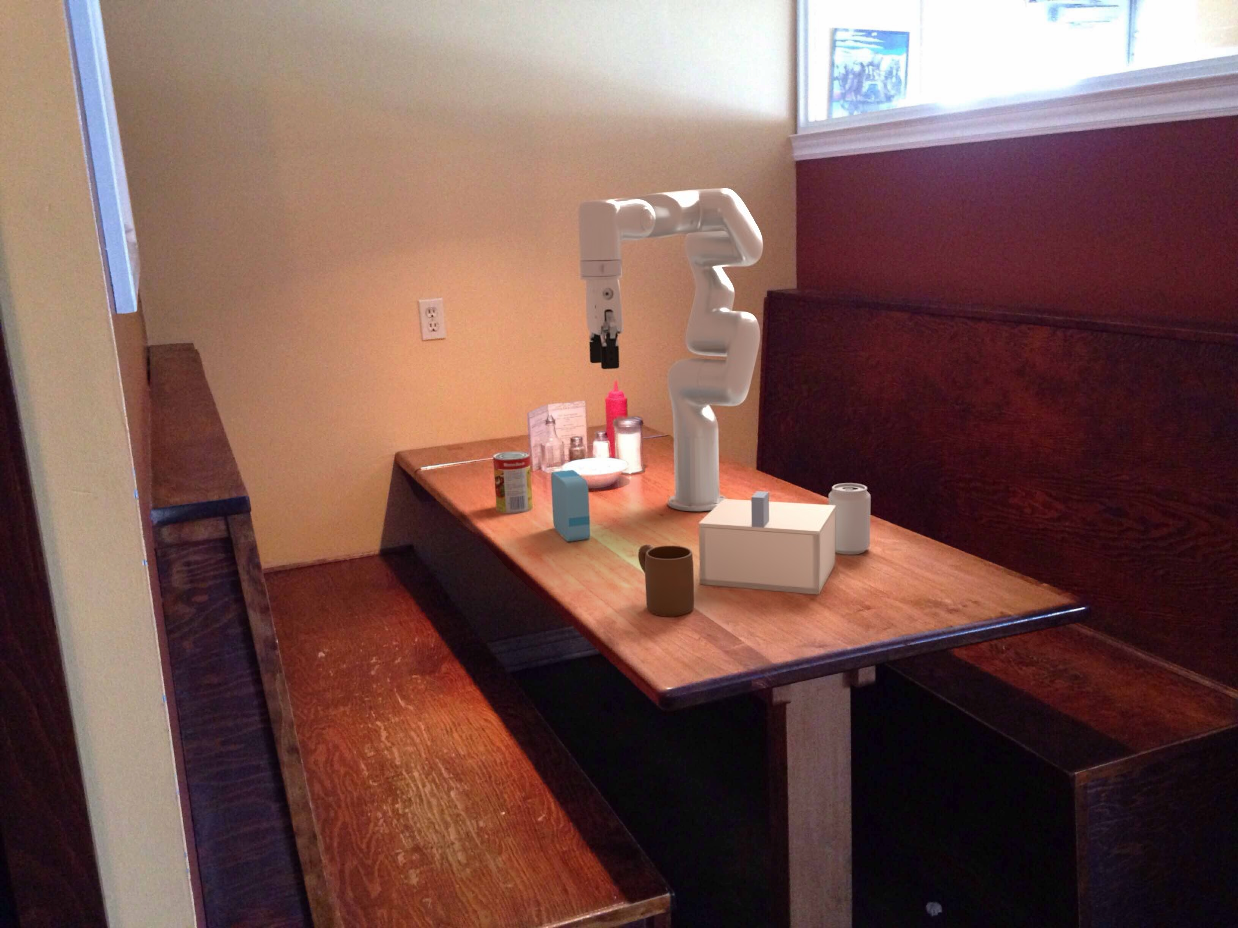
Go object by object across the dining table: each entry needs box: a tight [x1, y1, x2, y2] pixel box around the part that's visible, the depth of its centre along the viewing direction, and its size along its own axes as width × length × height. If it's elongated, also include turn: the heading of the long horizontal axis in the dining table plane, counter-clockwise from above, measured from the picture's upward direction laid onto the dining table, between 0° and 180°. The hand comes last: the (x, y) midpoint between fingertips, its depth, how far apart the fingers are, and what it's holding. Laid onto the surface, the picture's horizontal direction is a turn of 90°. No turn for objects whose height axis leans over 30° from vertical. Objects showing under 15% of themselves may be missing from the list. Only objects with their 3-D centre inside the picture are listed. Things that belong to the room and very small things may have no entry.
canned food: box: [492, 450, 534, 514], centre depth 228 cm, size 8×8×12 cm
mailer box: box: [698, 509, 836, 596], centre depth 179 cm, size 16×20×10 cm
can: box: [827, 482, 872, 556], centre depth 191 cm, size 8×8×12 cm
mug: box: [637, 544, 695, 617], centre depth 167 cm, size 12×8×9 cm, turn 32°
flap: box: [698, 490, 836, 535], centre depth 177 cm, size 16×20×6 cm
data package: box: [550, 469, 591, 543], centre depth 207 cm, size 12×4×12 cm, turn 18°
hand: (604, 365), depth 192 cm, fingers open, 9 cm apart
